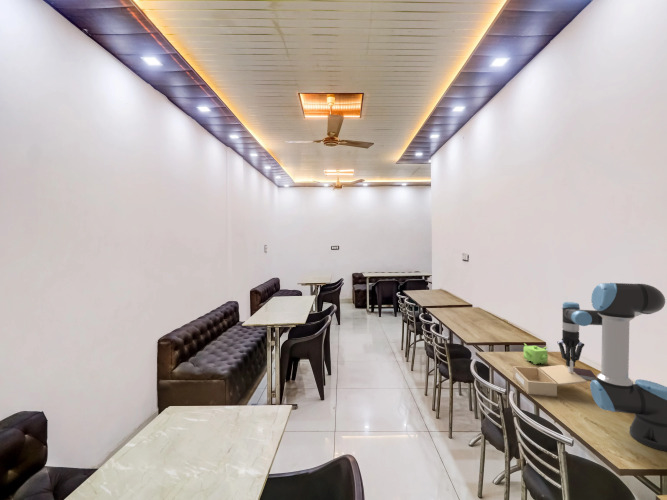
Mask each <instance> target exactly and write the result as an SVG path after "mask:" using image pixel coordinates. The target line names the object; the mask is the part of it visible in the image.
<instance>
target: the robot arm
mask: <svg viewBox="0 0 667 500" xmlns="http://www.w3.org/2000/svg"><path fill="white" fill-rule="evenodd" d="M591 303H592V304H591V306H592V308H593V309H594V310H591V309H581V308H580V304H579V303H578V302H573V301H564V302H563V303H562V307H561V309H562V331H561V332H562V333H561V335H562V338H561V340H560V341H557V345H558V346H559V350H560V355H561V358H562V360H565V366H566V367H568V372H570V373H573V368H576V362H577V361H580V357H581V354H582V352H583V351H582V350H583V348H584V347H585V343H583V342H581V341H580V326H582V327H585V326H586V327H587V326H601V367H600V368H601V371H600V372H598V373H597V374H596V380H590V383H589V387H590V393H591V396H592V399H593V401H594V403H595V405H597V407H598V408H600V409H601V410H603V411H609V412H612V413H615V412H616V413H625V414H631V415H632V414H634V418H633V420H632V422H631V425H630V426H629V435H630V436H631V438H633V439H634V440H635V441H637V442H638V443H640V444H642V445H645V446H647V447H650V448H653V449H656V450H659V451H663V452H664V451H665V452H667V386H665V385H663V384H661V383H657V382H654V381H651V380H647V379H636V380H635V381H634V382H633V381H632V379H630V377H629V371H630V370H629V367H630V366H629V364H630V363H629V360H630V358H629V357H630V355H629V354H630V321H631V320H634V319H635V318H636V317H639V316H642V315H652V314H654V313H657V312H659V311H661V310H662V309H663V308H664V307H665V304H666V297H665V295H664V294H663V292H661V290H659V289H658V288H657V287H654V286H652V285H650V284H646V283H624V282H623V283H621V282H620V283H618V282H608V283H607V282H604V283H602V282H601V283H599V284H597V285H596V286H595V287H594V289H593V290H592V293H591ZM564 346H565V347H564Z"/></svg>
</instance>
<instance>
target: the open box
mask: <svg viewBox="0 0 667 500" xmlns="http://www.w3.org/2000/svg"><path fill="white" fill-rule="evenodd" d="M512 379H513V380H514V379H515V380H516V381H517V382H518V383H519V384H518V383H517V382H516V381H515V380H514V381H515V382H516V383H517V384H518V385H519V386H520V388H521V389H522V390H523V391H524V392H525V393H526V394H527V395H530V396H541V397H542V396H544V397H558V384H557V383H556V382H555V381H553V380H552V379H551V378H550V377H549V376H547V375H546V374H545V373H544V372H543V371H542V370H540V369H539V367H530V366H516V365H515V366H514V365H513V366H512Z"/></svg>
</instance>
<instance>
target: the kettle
mask: <svg viewBox="0 0 667 500" xmlns="http://www.w3.org/2000/svg"><path fill="white" fill-rule="evenodd" d="M523 344H524V346H523V359H525V360H526V361H527V362H528V361H531V362H530V363H532V364H533V365H535V364H540V363H541V365H544V364H546V363H547V364H549V363H548V361H549V360H548V359H549V355H548V353H549V352H548V350H547V349H548V346H544V347H539V346H538V345H527V344H526V343H523Z"/></svg>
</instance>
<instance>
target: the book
mask: <svg viewBox="0 0 667 500" xmlns="http://www.w3.org/2000/svg"><path fill="white" fill-rule="evenodd" d="M553 366H556V364H555V365H553ZM566 367H567V368H568V366H566ZM573 372H575V373H576V374H577V375H579V376H580V377H582V378H583V379H585V380H586V381H592V380H597V375H595V373H594V372H593V371H592V370H591V369H587V368H586V369H585V368H577V367H573Z"/></svg>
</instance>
